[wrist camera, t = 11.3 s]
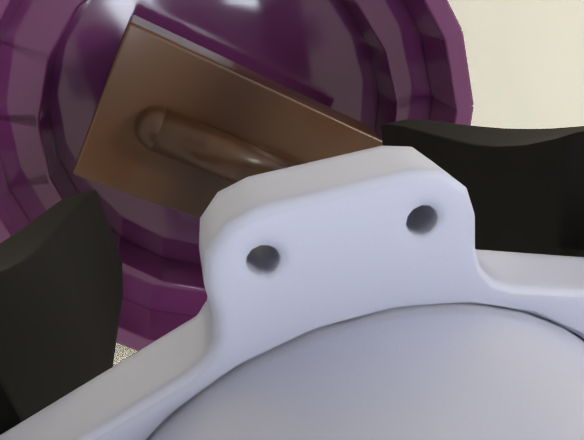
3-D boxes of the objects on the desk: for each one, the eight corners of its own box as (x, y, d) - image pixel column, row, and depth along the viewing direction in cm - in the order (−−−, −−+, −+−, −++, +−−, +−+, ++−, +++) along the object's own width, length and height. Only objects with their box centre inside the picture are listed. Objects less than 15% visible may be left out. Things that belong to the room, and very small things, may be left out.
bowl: (271, 346, 24) (289, 412, 21) (-87, 184, 18) (-145, 239, 15) (493, 63, 21) (562, 86, 17) (143, -255, 15) (138, -319, 11)
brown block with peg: (350, 110, 20) (400, 152, 16) (295, 213, 21) (328, 276, 17) (134, 7, 17) (126, 25, 13) (87, 134, 18) (66, 187, 14)
